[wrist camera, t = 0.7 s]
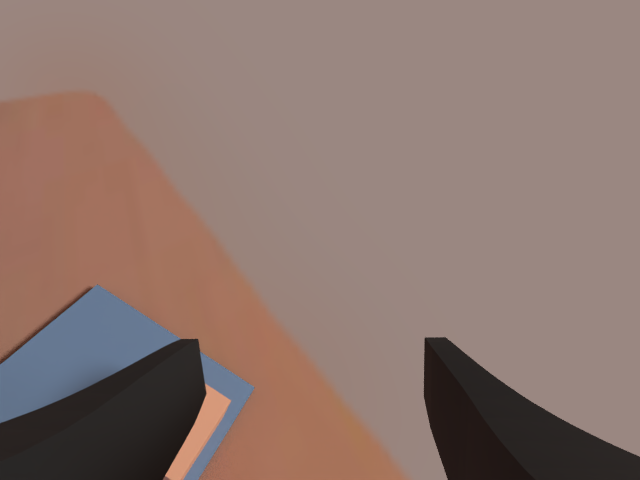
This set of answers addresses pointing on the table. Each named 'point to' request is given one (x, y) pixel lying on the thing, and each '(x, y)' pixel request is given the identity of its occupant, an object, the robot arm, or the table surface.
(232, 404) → the board
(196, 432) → the terracotta cube
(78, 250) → the table surface
